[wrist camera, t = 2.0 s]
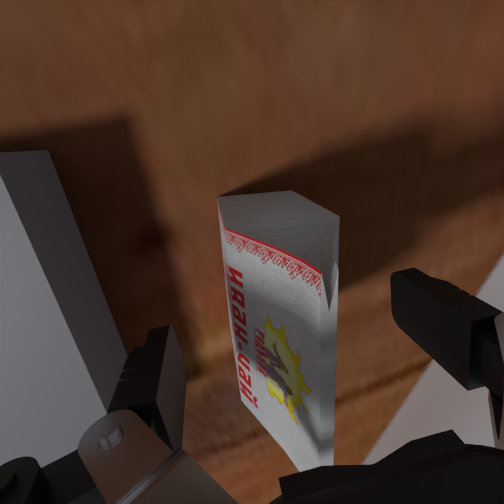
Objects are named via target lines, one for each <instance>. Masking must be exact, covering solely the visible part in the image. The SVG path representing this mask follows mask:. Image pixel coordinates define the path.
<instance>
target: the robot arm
mask: <svg viewBox="0 0 504 504" xmlns="http://www.w3.org/2000/svg"><path fill="white" fill-rule="evenodd" d="M390 282H391V306H392V315H393V318H394V320H395V322H396V324H397V325H398V327H399V328H400V329H401V330H403V331H404V332H405V333H406V334H407V335H408V336H409V337H410V338H411V339H412V340H413V341H414V342H416V343H417V344H418V345H419V346H420V347H421V348H422V349H423V350H424V351H425V352H426V353H427V354H429V355H430V356H431V357H432V358H433V359H434V360H435V361H436V362H437V363H438V364H439V365H440V366H442V367H443V368H444V369H445V370H446V371H447V372H448V373H449V374H450V375H451V376H452V377H453V378H455V379H456V380H457V381H458V382H459V383H460V384H461V385H462V386H463V387H464V388H465V389H467V390H468V391H469V390H472V389H476V388H480V387H484V386H485V387H487V388H488V389H489V395H488V402H489V408H490V415H491V422H492V429H493V436H494V443H495V448H493V447H489V446H483V445H473V444H464V442H463V441H462V440H461V439H460V438H459V437H458V436H457V435H456V433H455V432H454V431H453V430H448V431H445V432H441V433H437V434H434V435H430V436H427V437H423V438H419V439H416V440H412V441H410V442H408V443H407V444H405V445H404V446H402V447H401V448H399V449H397V450H396V451H394V452H393V453H391V454H389V455H388V456H386V457H385V458H383V459H382V460H380V461H379V462H377V463H375V464H372V465H332V466H320V467H316V468H312V469H309V470H305V471H302V472H298V473H295V474H291V475H288V476H284V477H280V478H279V482H280V487H281V491H282V495H280V496H279V497H277V498H276V499H274V500H273V501H272V502H270V503H269V504H504V312H502V311H500V310H498V309H496V308H495V307H493V306H491V305H489V304H487V303H485V302H484V301H482V300H480V299H478V298H477V297H475V296H473V295H470V294H469V293H467V292H466V291H464V290H460V288H458V287H457V286H455V285H453V284H451V283H449V282H447V281H444V280H440V279H437V278H433V277H430V276H428V275H426V274H425V273H423V272H421V271H420V270H418V269H416V268H410V269H406V270H401V271H397V272H393V273H392V274H391V278H390ZM122 371H123V372H121V375H120V378H119V382H118V383H117V386H116V389H115V392H114V394H113V397H112V400H111V403H110V405H109V408H108V411H107V414H106V415H105V416H103V417H101V418H100V419H98V420H97V421H96V422H94V423H93V424H92V425H91V426H90V427H89V428H88V429H87V430H86V432H85V433H84V434H83V436H82V438H81V439H80V442H79V445H78V449H76V450H75V451H73V452H71V453H69V454H67V455H66V456H64V457H62V458H60V459H58V460H56V461H54V462H52V463H50V464H48V465H46V466H44V467H42V468H41V467H40V465H39V463H38V461H37V460H36V459H35V458H33V457H29V456H25V457H19V458H16V459H13V460H10V461H8V462H6V463H4V464H3V465H1V466H0V504H238V503H237V502H236V501H235V500H234V499H233V498H232V497H231V496H230V495H229V494H228V493H227V492H226V491H225V490H224V489H223V488H222V487H221V486H220V485H219V484H218V483H217V482H216V481H215V480H214V479H213V478H212V477H211V476H210V475H209V474H208V473H207V472H206V471H205V470H204V469H203V468H202V467H201V466H200V465H199V464H198V463H197V462H196V461H195V460H194V459H193V458H192V457H191V456H190V455H189V454H187V453H186V452H185V451H184V450H182V435H183V421H184V407H185V393H186V368H185V363H184V360H183V357H182V353H181V350H180V347H179V344H178V340H177V337H176V334H175V331H174V328H173V326H172V325H167V326H163V327H158V328H154V329H150V330H149V332H148V335H147V339H146V342H145V345H144V346H141V347H137V348H135V349H134V351H133V352H132V353H131V354H130V355H129V356H128V358H127V359H126V361H125V364H124V367H123V369H122Z"/></svg>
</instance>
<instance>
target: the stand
mask: <svg viewBox="0 0 504 504" xmlns="http://www.w3.org/2000/svg"><path fill="white" fill-rule="evenodd" d="M127 358H128V356H127V353H126V350H125V348H124V345H123V343H122V340H121V337H120V335H119V332H118V330H117V327H116V324H115V322H114V319H113V317H112V314H111V312H110V309H109V306H108V304H107V301H106V299H105V296H104V293H103V291H102V288H101V286H100V283H99V280H98V278H97V275H96V273H95V270H94V268H93V265H92V262H91V260H90V257H89V255H88V252H87V249H86V247H85V244H84V242H83V239H82V236H81V234H80V231H79V229H78V226H77V224H76V221H75V218H74V216H73V213H72V211H71V208H70V205H69V203H68V200H67V198H66V195H65V192H64V190H63V187H62V185H61V182H60V180H59V177H58V174H57V172H56V169H55V167H54V164H53V161H52V159H51V156H50V154H49V151H48V150H38V151H20V152H1V153H0V466H1V465H3V464H4V463H6V462H8V461H10V460H13V459H16V458H19V457H25V456H29V457H33V458H35V459H36V460H37V461H38V463H39V465H40V467H41V468H42V467H44V466H46V465H48V464H50V463H52V462H54V461H56V460H58V459H60V458H62V457H64V456H66V455H67V454H69V453H71V452H73V451H75V450H76V449H78V445H79V442H80V439H81V438H82V436H83V434H84V433H85V432H86V430H87V429H88V428H89V427H90V426H91V425H92V424H93V423H94V422H96V421H97V420H98V419H100V418H101V417H103V416H105V415H106V414H107V411H108V408H109V405H110V403H111V400H112V397H113V394H114V392H115V389H116V386H117V383H118V382H119V378H120V375H121V372H123V371H122V369H123V367H124V364H125V361H126V359H127Z"/></svg>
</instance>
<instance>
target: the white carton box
mask: <svg viewBox="0 0 504 504" xmlns="http://www.w3.org/2000/svg"><path fill="white" fill-rule="evenodd" d="M217 204H218V214H219V224H220V234H221V243H222V253H223V263H224V273H225V283H226V293H227V303H228V312H229V321H230V328H231V334H232V341H233V347H234V354H235V360H236V367H237V373H238V380H239V386H240V393H241V399H242V401H243V403H244V404H245V405H246V406H247V407H248V408H249V410H250V411H251V412H252V413H253V414H254V415H255V417H256V418H257V419H258V420H259V421H260V422H261V424H262V425H263V426H264V427H265V428H266V429H267V431H268V432H269V433H270V434H271V435H272V436H273V438H274V439H275V440H276V441H277V442H278V443H279V444H280V446H281V447H282V448H283V449H284V450H285V452H286V453H287V455H288V456H289V457H290V459H291V460H292V462H293V463H294V464H295V466H296V467H297V469H298V470H299V471H300V472H302V471H305V470H309V469H312V468H316V467H320V466H332V465H333V458H334V420H335V382H336V345H337V307H338V255H339V217H340V216H338V215H336V214H334V213H333V212H331V211H329V210H327V209H325V208H323V207H321V206H320V205H318V204H316V203H314V202H312V201H310V200H309V199H307V198H305V197H303V196H301V195H299V194H297V193H296V192H294V191H292V190H289V191H278V192H267V193H256V194H245V195H234V196H222V197H217Z"/></svg>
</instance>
